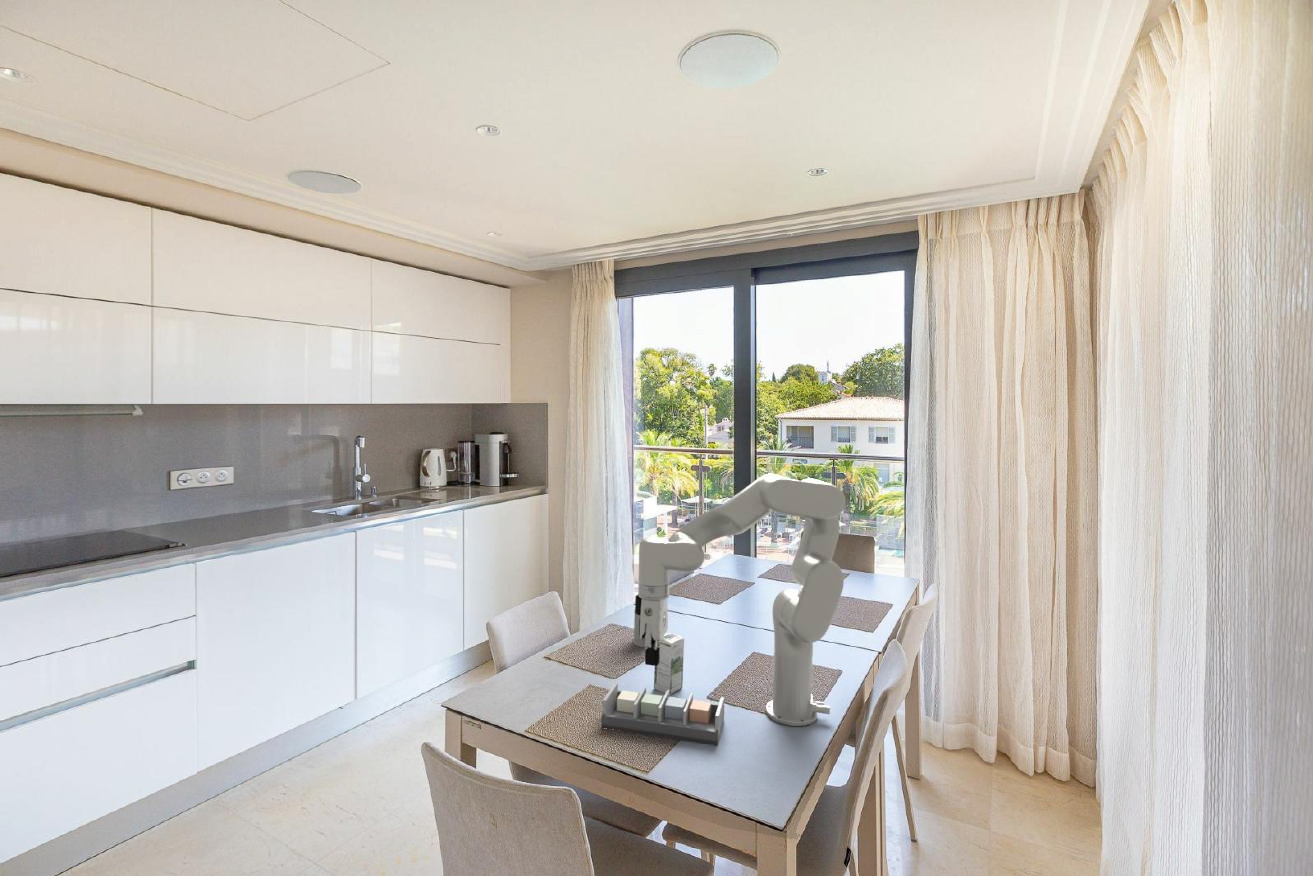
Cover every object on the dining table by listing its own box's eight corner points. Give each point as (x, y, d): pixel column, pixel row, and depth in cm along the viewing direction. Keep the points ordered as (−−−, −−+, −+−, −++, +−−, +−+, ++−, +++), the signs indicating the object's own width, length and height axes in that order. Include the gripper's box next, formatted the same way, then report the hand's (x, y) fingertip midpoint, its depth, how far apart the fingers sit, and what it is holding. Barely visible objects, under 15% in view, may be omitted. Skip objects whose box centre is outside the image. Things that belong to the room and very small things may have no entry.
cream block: (639, 704, 154) (639, 692, 154) (634, 713, 150) (634, 700, 150) (622, 702, 155) (622, 690, 155) (616, 710, 151) (617, 698, 151)
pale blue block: (686, 711, 152) (686, 699, 151) (682, 719, 147) (683, 707, 147) (668, 708, 153) (669, 696, 152) (664, 717, 148) (665, 705, 148)
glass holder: (660, 637, 207) (661, 593, 206) (656, 654, 193) (657, 607, 192) (634, 636, 208) (635, 592, 207) (628, 653, 194) (629, 605, 193)
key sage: (662, 707, 153) (662, 695, 153) (658, 716, 149) (658, 704, 149) (645, 705, 154) (645, 693, 154) (640, 713, 150) (640, 701, 150)
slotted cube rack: (723, 722, 153) (724, 696, 153) (717, 745, 142) (718, 717, 142) (615, 706, 160) (615, 681, 159) (601, 728, 149) (601, 701, 148)
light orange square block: (710, 714, 150) (711, 702, 150) (708, 723, 146) (708, 711, 146) (692, 711, 151) (693, 699, 151) (689, 720, 147) (689, 708, 147)
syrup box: (666, 682, 174) (667, 631, 173) (683, 688, 170) (684, 637, 170) (653, 689, 170) (654, 637, 169) (670, 696, 166) (671, 643, 165)
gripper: (661, 600, 142) (660, 679, 143) (675, 582, 156) (673, 653, 157) (630, 597, 143) (628, 675, 144) (646, 579, 158) (645, 650, 159)
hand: (652, 663), depth 151 cm, fingers closed
